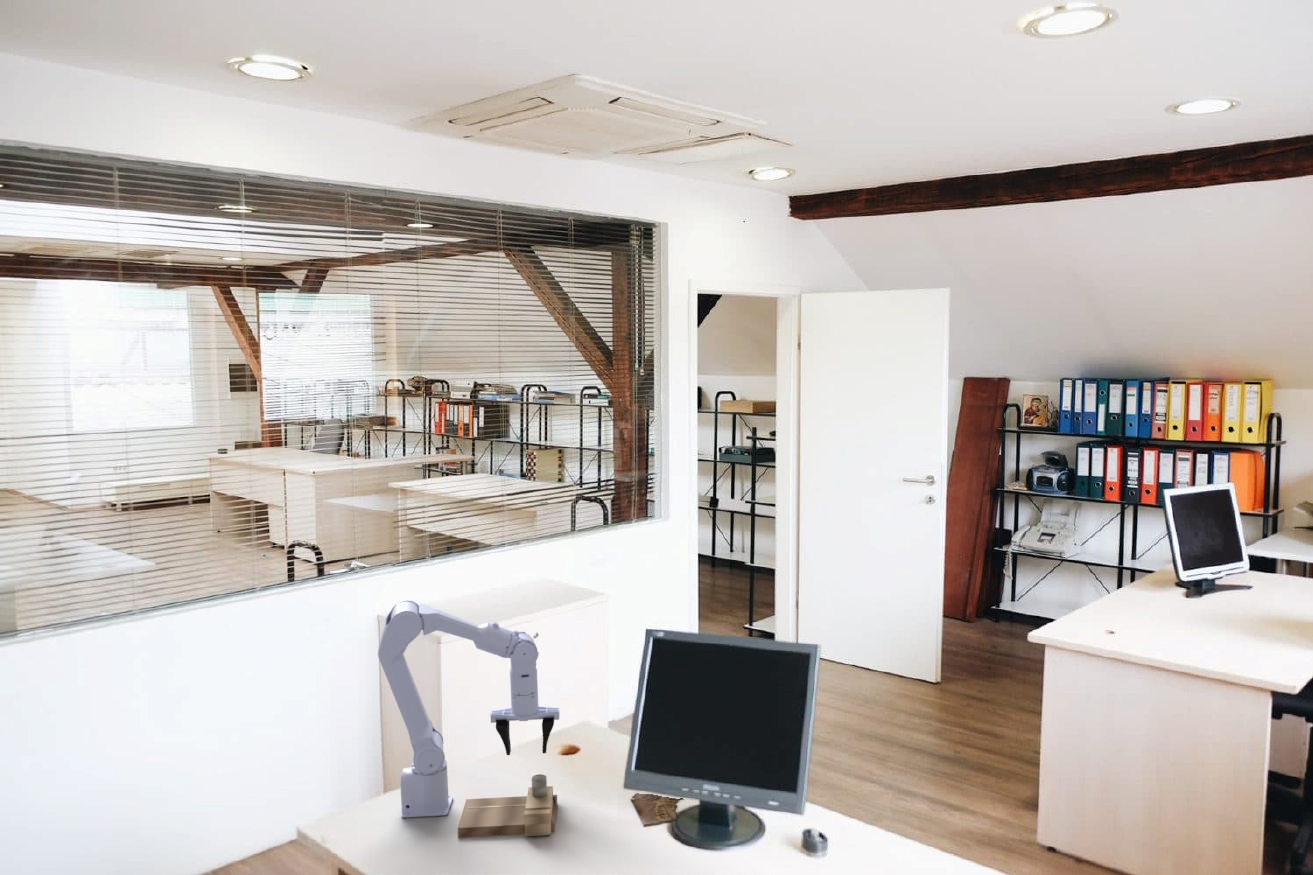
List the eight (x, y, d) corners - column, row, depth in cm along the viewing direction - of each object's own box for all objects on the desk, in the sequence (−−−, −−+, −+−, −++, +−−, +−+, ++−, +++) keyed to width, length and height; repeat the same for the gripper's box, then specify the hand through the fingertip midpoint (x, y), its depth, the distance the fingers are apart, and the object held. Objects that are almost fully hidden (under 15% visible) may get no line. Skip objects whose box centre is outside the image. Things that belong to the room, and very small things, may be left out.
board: (458, 837, 188) (457, 827, 187) (466, 808, 200) (466, 798, 199) (554, 832, 189) (554, 822, 188) (557, 803, 201) (557, 794, 200)
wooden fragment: (672, 830, 189) (672, 825, 189) (619, 826, 191) (619, 821, 191) (693, 773, 214) (693, 768, 214) (646, 769, 216) (646, 765, 216)
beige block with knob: (525, 835, 186) (523, 796, 186) (529, 807, 198) (527, 770, 197) (553, 834, 187) (552, 795, 186) (556, 806, 198) (555, 769, 197)
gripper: (487, 699, 199) (490, 761, 200) (557, 696, 199) (559, 758, 201) (491, 687, 206) (494, 747, 207) (558, 684, 206) (561, 744, 208)
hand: (526, 752), depth 204 cm, fingers open, 7 cm apart
